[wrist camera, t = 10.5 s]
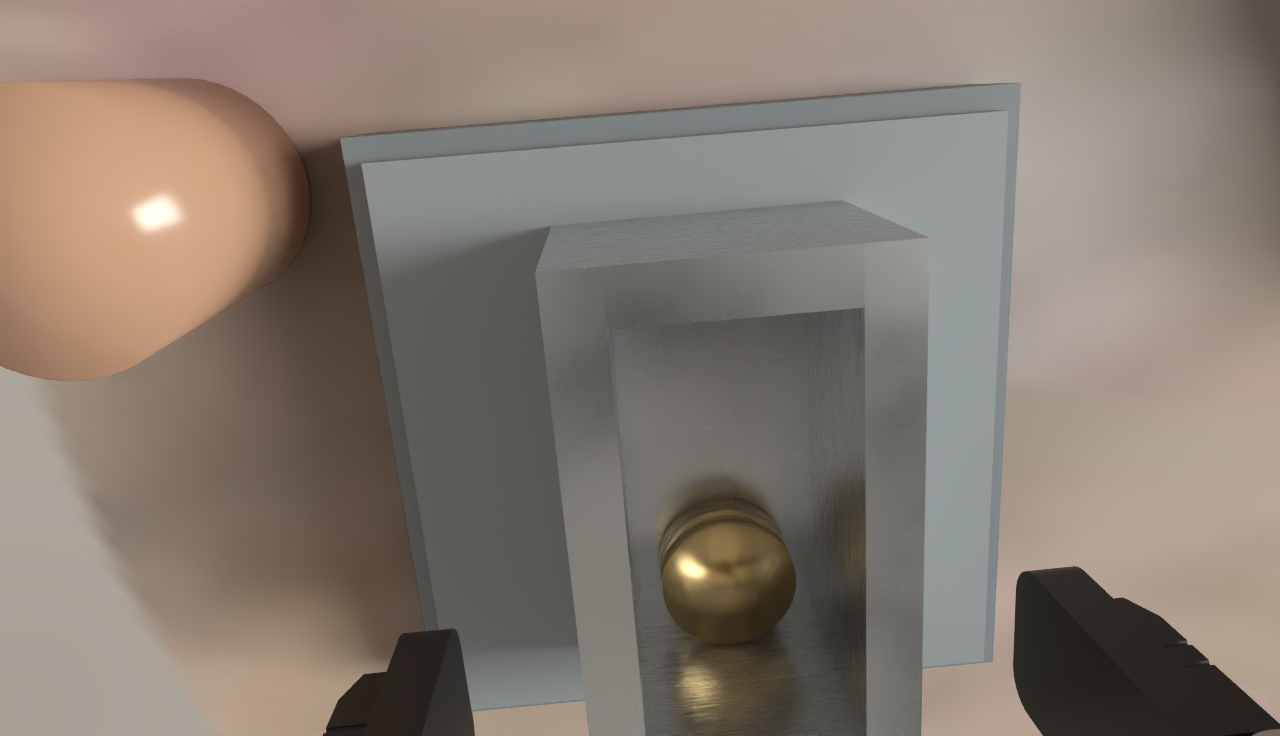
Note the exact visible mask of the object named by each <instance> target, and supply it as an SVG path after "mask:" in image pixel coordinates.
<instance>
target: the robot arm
mask: <svg viewBox="0 0 1280 736" xmlns="http://www.w3.org/2000/svg"><path fill="white" fill-rule="evenodd" d="M1013 670H1014V678H1015V684H1016V688H1017V691H1018V695H1019V697H1020V700H1021V702H1022V705H1023V707H1024V709H1025V711H1026V712H1027V714H1028V715H1029V717H1030V718H1031V719H1032V721H1033V722H1034V724H1035V725H1036V726H1037V728H1038V729H1039V731H1040V732H1041V734H1042V735H1043V736H1280V724H1279V723H1278V722H1277V721H1276V720H1275V719H1274V718H1273V717H1271V716H1270V715H1269V714H1268V713H1267V712H1266V711H1265V710H1264V709H1263V708H1261V707H1260V706H1259V705H1258V704H1257V703H1256V702H1255V701H1254V700H1253V699H1251V698H1250V697H1249V696H1248V695H1247V694H1246V693H1245V692H1244V691H1243V690H1241V689H1240V688H1239V687H1238V686H1237V685H1236V684H1235V683H1234V682H1233V681H1231V680H1230V679H1229V678H1228V677H1227V676H1226V675H1225V674H1224V673H1223V672H1221V671H1220V670H1219V669H1218V668H1217V667H1216V666H1215V665H1210V664H1209V660H1208V659H1207V658H1206V657H1205V656H1204V655H1203V654H1202V653H1200V652H1199V651H1198V650H1197V649H1196V648H1195V647H1194V646H1193V645H1188V644H1187V640H1186V639H1185V638H1184V637H1183V636H1182V635H1180V634H1179V633H1178V632H1177V631H1176V630H1175V629H1174V628H1173V627H1172V626H1170V625H1169V624H1168V623H1167V622H1166V621H1165V620H1164V619H1163V618H1162V617H1160V616H1158V615H1156V614H1155V613H1153V612H1151V611H1149V610H1147V609H1145V608H1143V607H1141V606H1139V605H1137V604H1135V603H1133V602H1131V601H1129V600H1127V599H1125V598H1114V599H1113V598H1112V597H1111V596H1110V595H1109V594H1108V593H1107V592H1106V591H1105V590H1104V589H1103V588H1101V587H1100V586H1099V585H1098V584H1097V583H1096V582H1095V581H1094V580H1093V579H1092V578H1091V577H1090V576H1089V575H1088V574H1087V573H1086V572H1085V571H1083V570H1082V569H1081V568H1079V567H1075V566H1073V567H1063V568H1054V569H1044V570H1034V571H1025V572H1022V573H1021V574H1020V576H1019V578H1018V580H1017V586H1016V606H1015V632H1014V658H1013ZM323 736H475V733H474V722H473V715H472V709H471V703H470V697H469V691H468V685H467V679H466V673H465V667H464V661H463V655H462V649H461V644H460V639H459V635H458V632H457V631H456V629H454V628H452V629H443V630H433V631H423V632H413V633H403V634H402V635H401V636H400V638H399V640H398V643H397V645H396V648H395V651H394V653H393V656H392V659H391V661H390V664H389V667H388V669H387V672H381V673H371V674H364V675H363V676H362V677H361V678H360V679H359V680H358V681H357V682H356V683H355V684H354V685H353V686H352V687H351V688H350V689H349V690H348V691H347V692H346V693H345V694H344V695H343V696H342V697H341V698H340V699H339V700H338V702H337V704H336V707H335V709H334V711H333V714H332V716H331V718H330V720H329V723H328V725H327V727H326V733H324V734H323Z"/></svg>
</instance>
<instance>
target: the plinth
mask: <svg viewBox="0 0 1280 736" xmlns="http://www.w3.org/2000/svg"><path fill="white" fill-rule="evenodd" d="M1020 85H1021V83H998V84H970V85H958V86H946V87H933V88H921V89H909V90H897V91H884V92H872V93H860V94H847V95H835V96H823V97H811V98H798V99H786V100H774V101H761V102H749V103H737V104H725V105H712V106H700V107H688V108H675V109H663V110H651V111H639V112H626V113H614V114H602V115H590V116H577V117H565V118H553V119H540V120H528V121H516V122H504V123H491V124H479V125H467V126H454V127H442V128H430V129H418V130H405V131H393V132H381V133H369V134H363V135H357V136H351V137H345V138H340V142H341V148H342V153H343V159H344V165H345V171H346V177H347V182H348V188H349V194H350V200H351V205H352V211H353V217H354V223H355V229H356V234H357V240H358V246H359V252H360V258H361V263H362V269H363V275H364V281H365V286H366V292H367V298H368V304H369V310H370V315H371V321H372V327H373V333H374V339H375V344H376V350H377V356H378V362H379V367H380V373H381V379H382V385H383V391H384V396H385V402H386V408H387V414H388V420H389V425H390V431H391V437H392V443H393V448H394V454H395V460H396V466H397V472H398V477H399V483H400V489H401V495H402V501H403V506H404V512H405V518H406V524H407V530H408V535H409V541H410V547H411V553H412V558H413V564H414V570H415V576H416V582H417V587H418V593H419V599H420V605H421V611H422V616H423V622H424V628H425V631H433V630H443V629H452V628H454V629H456V631H457V632H458V635H459V639H460V644H461V649H462V655H463V661H464V667H465V673H466V679H467V685H468V691H469V697H470V703H471V709H472V711H481V710H492V709H502V708H513V707H523V706H534V705H544V704H555V703H565V702H576V701H585V695H584V686H583V678H582V669H581V661H580V652H579V644H578V635H577V627H576V618H575V609H574V601H573V592H572V584H571V575H570V567H569V558H568V550H567V541H566V533H565V524H564V515H563V507H562V498H561V490H560V481H559V473H558V464H557V456H556V447H555V438H554V430H553V421H552V413H551V404H550V396H549V387H548V379H547V370H546V362H545V353H544V344H543V336H542V327H541V319H540V310H539V302H538V293H537V285H536V276H535V271H536V268H537V265H538V263H539V260H540V257H541V254H542V251H543V248H544V246H545V243H546V240H547V237H548V234H549V232H550V229H551V226H553V225H565V224H576V223H588V222H599V221H611V220H622V219H634V218H645V217H657V216H668V215H680V214H691V213H703V212H714V211H726V210H737V209H749V208H760V207H772V206H784V205H795V204H807V203H818V202H830V201H841V200H843V201H845V202H848V203H850V204H852V205H855V206H857V207H859V208H862V209H864V210H866V211H869V212H871V213H873V214H876V215H878V216H880V217H883V218H885V219H887V220H890V221H892V222H894V223H897V224H899V225H901V226H904V227H906V228H908V229H911V230H913V231H915V232H918V233H920V234H922V235H925V236H927V237H929V238H930V257H929V314H928V371H927V428H926V485H925V542H924V598H923V655H922V668H933V667H943V666H954V665H964V664H975V663H985V662H993V642H994V622H995V601H996V580H997V560H998V539H999V518H1000V498H1001V477H1002V456H1003V436H1004V415H1005V395H1006V374H1007V353H1008V333H1009V312H1010V291H1011V271H1012V250H1013V229H1014V209H1015V188H1016V167H1017V147H1018V126H1019V105H1020Z"/></svg>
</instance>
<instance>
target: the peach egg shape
mask: <svg viewBox="0 0 1280 736" xmlns="http://www.w3.org/2000/svg"><path fill="white" fill-rule="evenodd" d="M309 217H310V192H309V184H308V180H307V176H306V172H305V168H304V166H303V163H302V161H301V158H300V156H299V154H298V152H297V150H296V148H295V146H294V145H293V143H292V141H291V140H290V138H289V137H288V135H287V134H286V133H285V131H284V130H283V128H282V127H281V126H280V125H279V124H278V123H277V122H276V121H275V119H274V118H273V117H272V116H271V115H270V114H269V113H267V112H266V111H265V110H264V109H263V108H262V107H261V106H259V105H258V104H256V103H255V102H254V101H252V100H251V99H249V98H248V97H246V96H244V95H242V94H241V93H239V92H237V91H235V90H233V89H231V88H228V87H225V86H223V85H220V84H217V83H213V82H209V81H205V80H199V79H190V78H173V79H131V80H88V81H46V82H4V83H0V366H2V367H4V368H6V369H9V370H12V371H16V372H18V373H22V374H25V375H28V376H33V377H38V378H43V379H49V380H60V381H82V380H90V379H97V378H102V377H106V376H109V375H113V374H116V373H119V372H122V371H124V370H126V369H128V368H130V367H133V366H135V365H137V364H138V363H140V362H141V361H143V360H145V359H146V358H148V357H149V356H151V355H153V354H154V353H156V352H157V351H159V350H161V349H162V348H164V347H166V346H167V345H169V344H170V343H172V342H174V341H175V340H177V339H178V338H180V337H182V336H183V335H185V334H187V333H188V332H190V331H191V330H193V329H195V328H196V327H198V326H199V325H201V324H203V323H204V322H206V321H208V320H209V319H211V318H212V317H214V316H216V315H217V314H219V313H220V312H222V311H224V310H225V309H227V308H229V307H230V306H232V305H233V304H235V303H237V302H238V301H240V300H241V299H243V298H245V297H246V296H248V295H250V294H251V293H253V292H254V291H256V290H258V289H259V288H261V287H262V286H264V285H266V284H267V283H269V282H270V281H272V280H273V279H275V278H276V277H277V276H278V275H280V274H281V273H282V272H283V271H284V270H285V269H286V268H287V267H288V265H289V264H290V263H291V262H292V261H293V259H294V258H295V256H296V254H297V253H298V251H299V250H300V248H301V245H302V243H303V241H304V238H305V235H306V232H307V228H308V224H309Z"/></svg>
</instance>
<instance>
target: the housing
mask: <svg viewBox="0 0 1280 736" xmlns="http://www.w3.org/2000/svg"><path fill="white" fill-rule="evenodd" d="M929 257H930V238H929V237H927V236H925V235H922V234H920V233H918V232H915V231H913V230H911V229H908V228H906V227H904V226H901V225H899V224H897V223H894V222H892V221H890V220H887V219H885V218H883V217H880V216H878V215H876V214H873V213H871V212H869V211H866V210H864V209H862V208H859V207H857V206H855V205H852V204H850V203H848V202H845V201H843V200H841V201H830V202H818V203H807V204H795V205H784V206H772V207H760V208H749V209H737V210H726V211H714V212H703V213H691V214H680V215H668V216H657V217H645V218H634V219H622V220H611V221H599V222H588V223H576V224H565V225H553V226H551V229H550V232H549V234H548V237H547V240H546V243H545V246H544V248H543V251H542V254H541V257H540V260H539V263H538V265H537V268H536V271H535V276H536V285H537V293H538V302H539V310H540V319H541V327H542V336H543V344H544V353H545V362H546V370H547V379H548V387H549V396H550V404H551V413H552V421H553V430H554V438H555V447H556V456H557V464H558V473H559V481H560V490H561V498H562V507H563V515H564V524H565V533H566V541H567V550H568V558H569V567H570V575H571V584H572V592H573V601H574V609H575V618H576V627H577V635H578V644H579V652H580V661H581V669H582V678H583V686H584V695H585V703H586V712H587V721H588V729H589V736H921V712H922V655H923V598H924V542H925V485H926V428H927V371H928V314H929Z"/></svg>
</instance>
